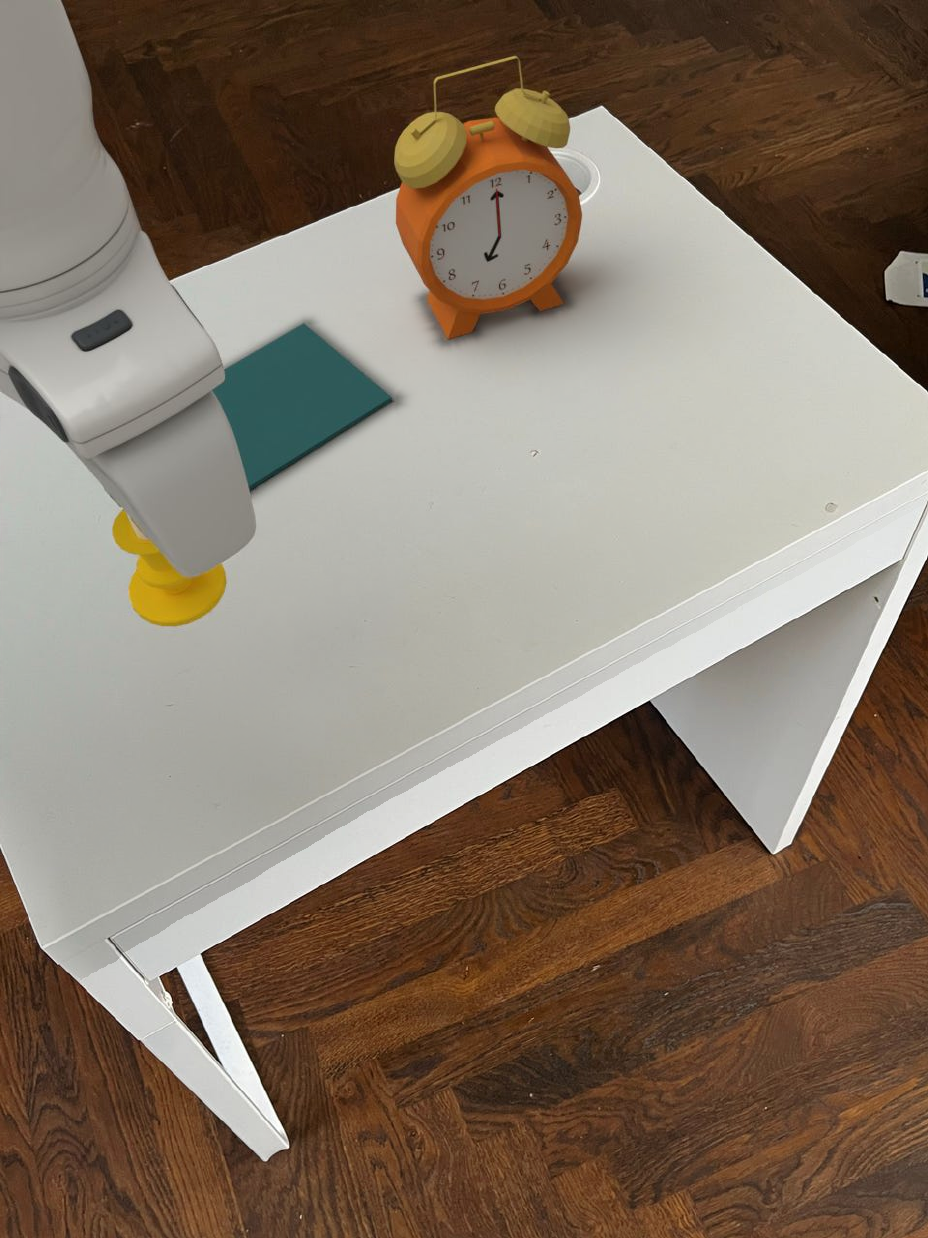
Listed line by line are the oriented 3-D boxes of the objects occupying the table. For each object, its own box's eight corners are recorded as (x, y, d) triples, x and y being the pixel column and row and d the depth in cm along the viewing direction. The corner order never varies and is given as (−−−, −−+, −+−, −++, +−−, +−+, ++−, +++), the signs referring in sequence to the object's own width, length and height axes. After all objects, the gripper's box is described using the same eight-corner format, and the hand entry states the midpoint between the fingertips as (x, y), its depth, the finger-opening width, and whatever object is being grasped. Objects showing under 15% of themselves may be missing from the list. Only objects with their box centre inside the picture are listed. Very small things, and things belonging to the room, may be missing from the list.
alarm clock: (431, 349, 92) (398, 117, 75) (407, 303, 95) (371, 71, 79) (585, 302, 93) (585, 65, 77) (556, 258, 97) (551, 22, 80)
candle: (139, 640, 60) (29, 427, 48) (123, 566, 63) (15, 348, 50) (236, 609, 61) (152, 393, 48) (216, 539, 64) (132, 317, 51)
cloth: (195, 524, 83) (194, 520, 83) (115, 437, 89) (113, 433, 89) (392, 400, 89) (391, 396, 88) (304, 326, 95) (303, 322, 94)
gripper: (-134, 202, 50) (-6, 430, 61) (92, 457, 40) (195, 673, 51) (-2, 142, 52) (98, 373, 63) (244, 370, 42) (310, 596, 53)
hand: (143, 509), depth 57 cm, fingers closed on candle
